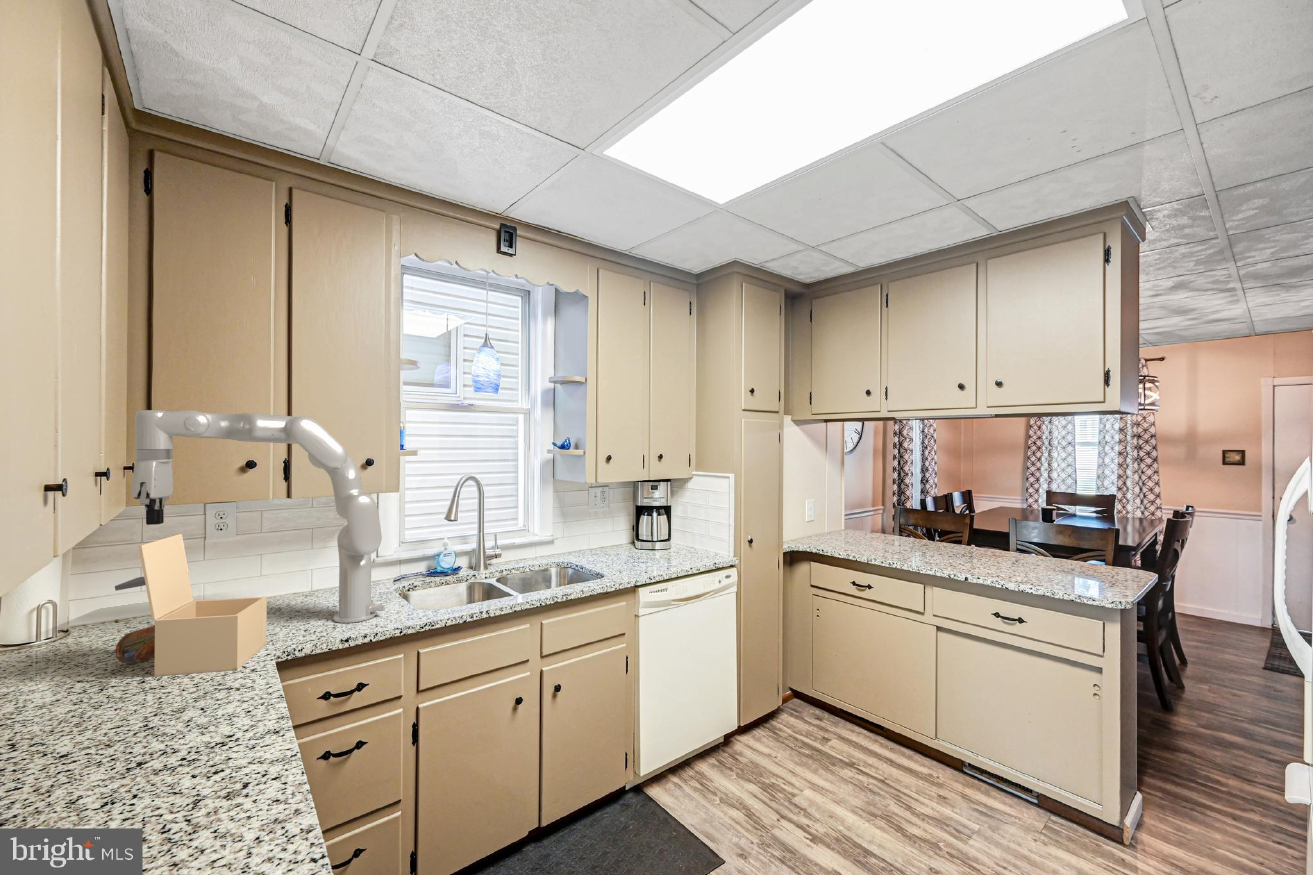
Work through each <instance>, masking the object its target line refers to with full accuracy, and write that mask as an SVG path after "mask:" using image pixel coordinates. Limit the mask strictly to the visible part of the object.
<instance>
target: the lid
mask: <svg viewBox="0 0 1313 875" xmlns="http://www.w3.org/2000/svg"><path fill="white" fill-rule="evenodd" d="M138 549H139V550H138V551H139V555H140V562H141V567H142V572H143V573H142V574H143V576H139V577H134V578H133V579H130V580H127V581H124V582H122V583H120V584H117V585H115V586H114V590H115V592H116V591H122V590H127V589H128V590H129V589H132V588H138V587H146V588H145V589H146V595H147V599H148V600H147V601H148V604H149V610H150V615H151V620H152V621H155V620H157V619H159V618H161V617H163V616H165V615H167V614H169V613H171V612H173V611H175V610H177V609H179V608H181V607H183V606H185V605H187V604H188V603H190V602H192V601H195V598H194V594H193V588H192V582H191V577H190V571H189V570H190V569H189V566H188V560H187V555H186V549H185V543H184V538H183V534H182V533H179V534H176V535H171V536H168V537H165V538H162V539H159V540H155V541H151V542H148V543H145V544H140V545H138Z"/></svg>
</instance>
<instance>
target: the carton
mask: <svg viewBox="0 0 1313 875" xmlns="http://www.w3.org/2000/svg"><path fill="white" fill-rule="evenodd" d="M267 600H268V597H267V596H257V597H256V596H254V597H240V598H222V599H221V598H219V599H202V600H200V599H199V600H193V601H191V602H189V603H187V604H185V605H183V606H181V607H179V608H177V609H175V610H173V611H171V612H170V613H168V614H166V615H164V616H162V617H160V618H158V619H156V620H154V625H155V657H154V676H153V677H164V676H177V675H179V676H180V675H190V674H201V673H213V672H227V671H237V670H239V669H241V667H243V665H244V664H246V663H247V662H248V661H250V660H251V659H252V658H254V656H255V655H256V654H258V653H259V652H260V651H261V650H263V649H264V648H265V647H266V646H267V624H268V623H267V619H268V618H267V614H268V611H267V608H268V607H267V606H268V604H267V603H268V602H267Z"/></svg>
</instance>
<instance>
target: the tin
mask: <svg viewBox="0 0 1313 875" xmlns="http://www.w3.org/2000/svg"><path fill="white" fill-rule="evenodd" d="M115 657H116V659H117V660H118V661H119V662H120V663H123V664H129V665H135V664H136V665H137V664H140V663H144V662H145V661H148V660H151V659H153V658H154V659H155V624H153V625H150V626H147V627H143V628H140V629H137V630H133V631H131V632H128V633H126V634H125V635H124V636H122V637H121V638H120V639H119V641H118V642H117V644H116V646H115Z"/></svg>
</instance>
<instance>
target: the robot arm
mask: <svg viewBox="0 0 1313 875" xmlns="http://www.w3.org/2000/svg"><path fill="white" fill-rule="evenodd" d="M134 420H135V421H134V422H135V425H134V426H135V427H134V428H135V429H134V431H135V436H134V437H135V464H134V468H133V475H132V486H131V496H132V499H134V500H139V504H140V505H143V506H144V510H145V524H146V525H148V526H150V525H151V526H152V525H153V526H154V525H161V524H164V522H165V521H164V519H165V518H164V517H165V514H164V512H165V511H164V510H165V506H166V501H168V500H169V498H170V496H172V495H173V492H174V475H173V473H174V472H173V464H172V462H173V461H174V460H173V459H174V451H173V450H174V449H173V448H174V446H173V444H174V442H173V439H174V437H183V438H193V439H194V438H197V439H215V440H216V439H218V440H219V439H220V440H223V439H224V440H233V441H238V442H249V443H250V442H252V443H270V444H272V443H274V444H290V445H291V444H293V445H294V444H297V445H299V446H300V447H301V448H302V449H303V450H304V451H305V452H306V453H307V458H308V461H309V463H310V464H311V465H312V466H314V467H315V468H318V469H321V470H323V471H325V472H326V474H327V475H328V476H329V478H330V482H331V485H332V489H333V490H332V491H333V497H334V505H335V510H336V511H335V512H336V514H338V516H339V517H340V518H342V519H344V520H346V523H347V524H345V525H344V526H343V527H342V528H340V530H339V532H338V534H337V539H336V540H337V550H338V562H339V563H338V564H339V565H338V566H339V567H338V568H339V569H338V570H339V571H338V572H339V573H338V612H337V613H336V614H334V615H333V621H334V622H335V623H341V624H345V623H346V624H349V623H359V622H363V621H367V620H370V619H372V618H374V617H375V616H376V614H377V612H384V611H385V610H386V606H385V604H382V603H381V604H380V603H378V604H376V603H374V600H372V554H374V553H375V552H376V551H377V550H378V549H379V548H380V546H381V544H382V537H383V536H382V528H381V522H380V521H381V520H380V514H379V509H378V505H377V502H376V500H375V499H374V498H373V497H372V496H371V495H369V494H367V493H364V488H363V484H362V480H361V474H360V473H361V472H360V470H359V468H358V465H357V464H356V463H355V461H354V459H353V458H352V457H351V456H350V454H349V455H348V452H347V450H346V448H345V447H344V445H342V443H340V442H339V441H338V440H337V439H336V438H335V437H334V436H333V435H332V434H331V433H330V432H328V430H326V428H324V427H323V425H321V424H320V423H319V422H318V421H316V419H313V418H312V417H309V416H304V415H303V416H302V415H301V416H294V415H293V416H291V415H276V414H266V413H265V414H263V413H254V412H253V413H252V412H251V413H250V412H248V413H247V412H245V413H244V412H243V413H216V412H215V413H211V412H201V411H198V410H194V409H189V410H179V411H178V410H177V411H168V410H160V409H159V410H157V409H156V410H155V409H154V410H153V409H150V410H149V409H147V410H145V409H144V410H139V411H137V412H136V414H135V419H134Z"/></svg>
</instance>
